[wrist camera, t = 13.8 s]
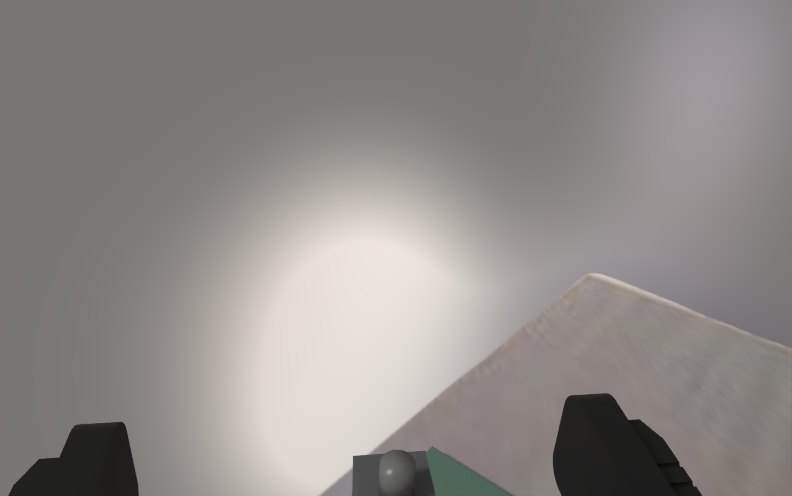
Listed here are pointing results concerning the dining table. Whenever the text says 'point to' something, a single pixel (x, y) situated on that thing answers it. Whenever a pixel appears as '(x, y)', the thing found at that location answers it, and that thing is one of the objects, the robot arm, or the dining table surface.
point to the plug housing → (392, 474)
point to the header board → (457, 478)
